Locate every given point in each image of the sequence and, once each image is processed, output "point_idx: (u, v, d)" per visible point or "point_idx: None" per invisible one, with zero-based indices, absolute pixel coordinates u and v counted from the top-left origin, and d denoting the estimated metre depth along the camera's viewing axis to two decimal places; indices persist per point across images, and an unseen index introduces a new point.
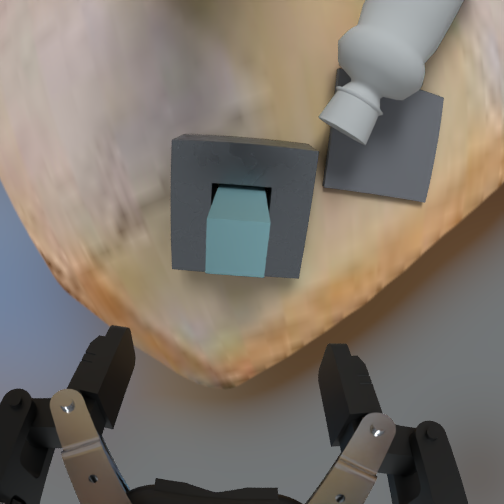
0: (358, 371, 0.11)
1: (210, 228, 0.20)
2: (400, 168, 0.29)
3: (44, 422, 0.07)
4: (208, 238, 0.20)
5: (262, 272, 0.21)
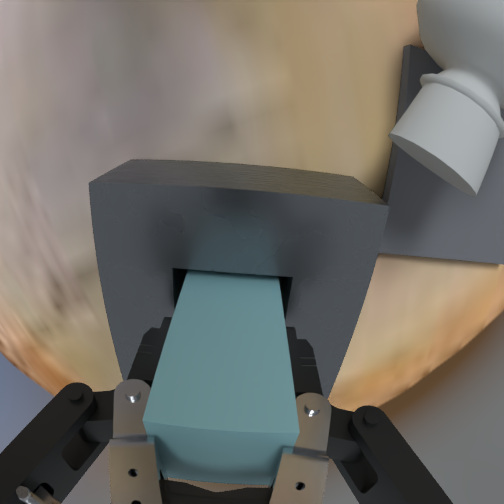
0: (304, 353, 0.12)
1: (155, 434, 0.07)
2: (486, 218, 0.16)
3: (101, 423, 0.08)
4: None
5: None
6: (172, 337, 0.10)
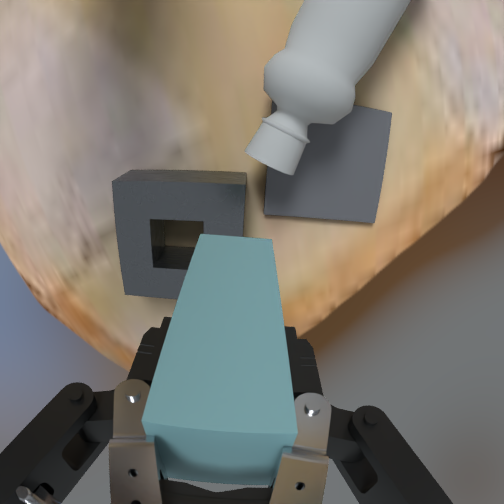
0: (304, 353, 0.12)
1: (154, 435, 0.07)
2: (344, 190, 0.31)
3: (101, 423, 0.08)
4: None
5: None
6: (171, 338, 0.10)
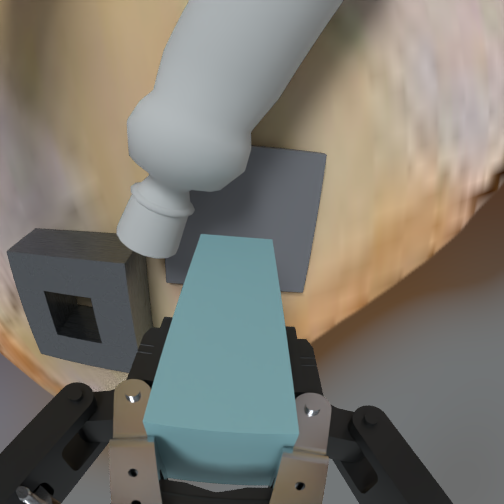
0: (304, 353, 0.12)
1: (156, 435, 0.07)
2: None
3: (101, 423, 0.08)
4: None
5: None
6: (172, 338, 0.10)
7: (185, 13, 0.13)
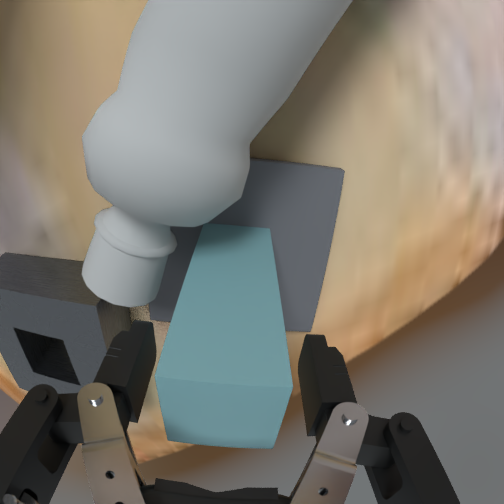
0: (335, 362, 0.11)
1: (166, 390, 0.09)
2: None
3: (68, 421, 0.07)
4: (164, 403, 0.09)
5: (270, 444, 0.10)
6: (180, 308, 0.11)
7: None
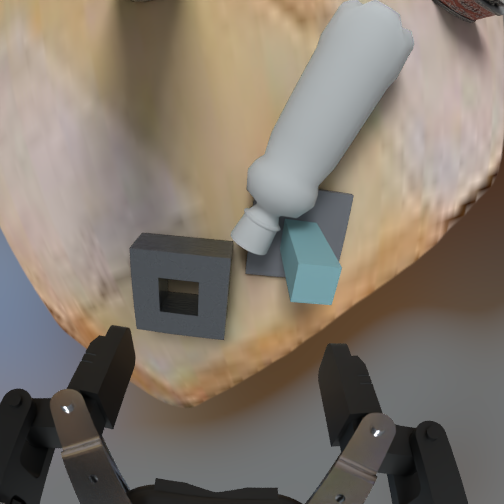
0: (358, 371, 0.11)
1: (300, 270, 0.28)
2: None
3: (44, 422, 0.07)
4: (297, 277, 0.28)
5: (331, 301, 0.29)
6: (296, 247, 0.30)
7: (290, 115, 0.27)
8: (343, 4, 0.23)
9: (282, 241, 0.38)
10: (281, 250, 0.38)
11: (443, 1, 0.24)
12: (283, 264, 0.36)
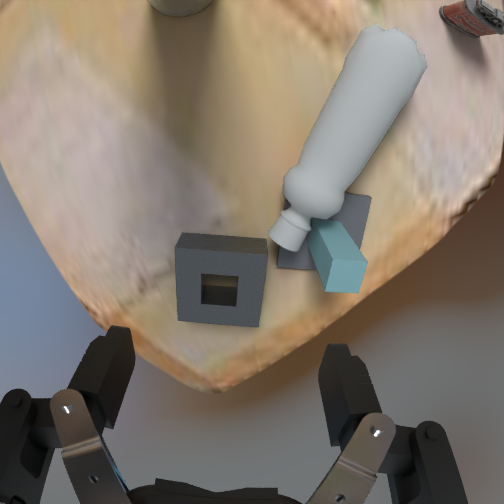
0: (358, 371, 0.11)
1: (334, 265, 0.32)
2: None
3: (44, 422, 0.07)
4: (331, 270, 0.33)
5: (358, 290, 0.34)
6: (327, 245, 0.35)
7: (323, 132, 0.32)
8: (366, 30, 0.27)
9: (310, 238, 0.43)
10: (310, 246, 0.43)
11: (451, 19, 0.28)
12: (313, 259, 0.40)
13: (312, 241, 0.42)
